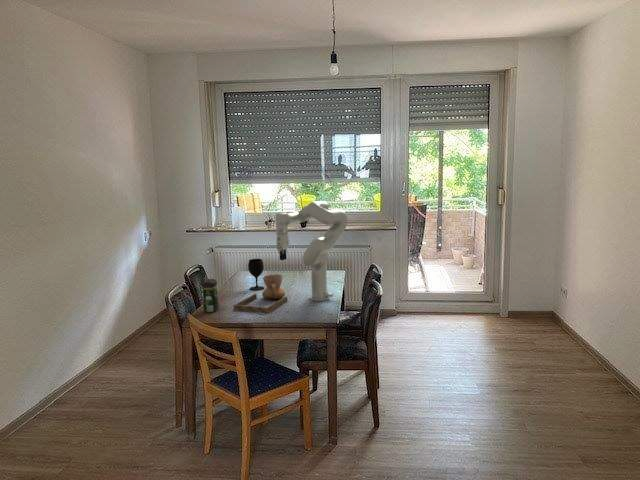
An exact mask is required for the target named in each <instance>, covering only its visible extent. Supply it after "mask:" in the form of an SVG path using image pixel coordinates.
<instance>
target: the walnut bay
mask: <svg viewBox="0 0 640 480" xmlns="http://www.w3.org/2000/svg"><path fill="white" fill-rule="evenodd" d="M257 298H258V297H257V293H254V294H251V295H250V296H248V297H246V298H244V299H242V300H240V301H239V302H236V303H235V304H233V311H240V312H250V313H259V314H260V313H261V314H271V312H273V311H275V310H277V309H278V308H279V307H282V305H285V304H286V303H287V302H288V296H283V297H282V298H280V299H278V300H277V301H276V302H274V303H271V305H269V306H267V307H265V306H255V305H248V304H250V303H252V302H253V301H256V300H258V299H257Z"/></svg>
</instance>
